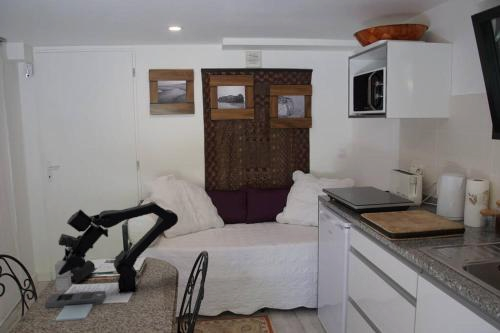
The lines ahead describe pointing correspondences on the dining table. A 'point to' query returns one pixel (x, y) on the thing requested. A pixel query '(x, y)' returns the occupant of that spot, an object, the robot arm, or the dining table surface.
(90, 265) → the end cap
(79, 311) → the tile
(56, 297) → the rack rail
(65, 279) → the block
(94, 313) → the dining table surface
